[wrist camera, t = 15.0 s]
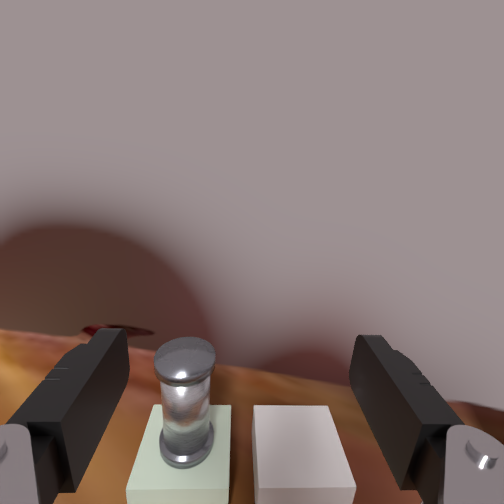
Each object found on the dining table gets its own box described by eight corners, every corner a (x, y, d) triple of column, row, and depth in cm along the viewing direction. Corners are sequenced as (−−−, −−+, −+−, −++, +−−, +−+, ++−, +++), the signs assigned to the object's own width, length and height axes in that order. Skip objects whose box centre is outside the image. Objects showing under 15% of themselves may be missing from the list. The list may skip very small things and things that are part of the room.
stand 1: (229, 433, 40) (231, 405, 38) (227, 520, 30) (228, 488, 29) (155, 433, 39) (153, 404, 38) (129, 522, 30) (125, 489, 28)
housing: (215, 419, 36) (217, 337, 32) (211, 469, 30) (212, 377, 26) (166, 419, 36) (162, 336, 32) (153, 469, 30) (146, 376, 26)
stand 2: (322, 433, 41) (327, 405, 39) (348, 518, 31) (356, 487, 30) (251, 433, 40) (253, 405, 38) (255, 520, 31) (259, 488, 29)
